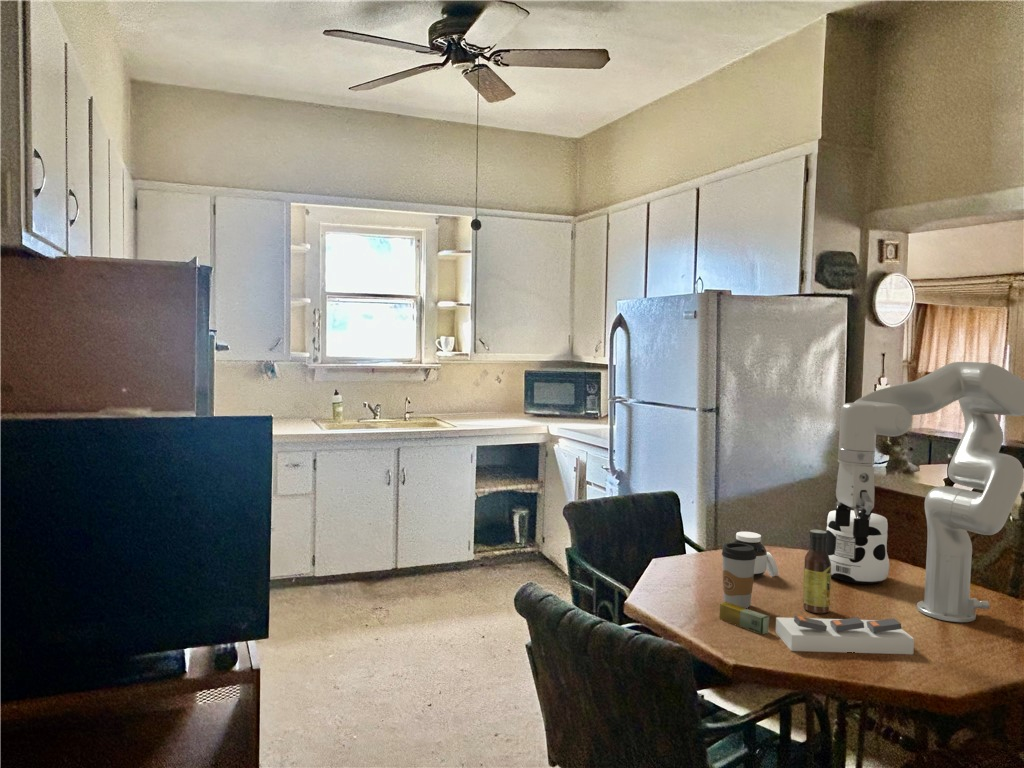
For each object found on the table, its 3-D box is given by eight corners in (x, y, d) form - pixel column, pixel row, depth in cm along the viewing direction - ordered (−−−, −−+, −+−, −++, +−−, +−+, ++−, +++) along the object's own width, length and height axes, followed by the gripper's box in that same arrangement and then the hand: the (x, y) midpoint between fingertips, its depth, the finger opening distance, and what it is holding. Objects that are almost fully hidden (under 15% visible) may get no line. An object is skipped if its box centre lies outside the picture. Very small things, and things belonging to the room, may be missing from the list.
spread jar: (724, 571, 210) (725, 531, 210) (752, 566, 216) (754, 527, 215) (756, 583, 200) (757, 542, 199) (784, 578, 205) (786, 537, 205)
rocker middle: (858, 622, 160) (857, 616, 160) (864, 627, 157) (863, 621, 157) (830, 626, 160) (830, 620, 160) (836, 631, 157) (835, 625, 157)
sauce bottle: (832, 616, 177) (835, 535, 176) (805, 613, 178) (808, 534, 177) (826, 606, 183) (829, 529, 182) (800, 604, 185) (803, 527, 183)
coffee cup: (712, 602, 185) (714, 544, 184) (737, 597, 189) (739, 540, 188) (736, 613, 178) (738, 553, 177) (761, 608, 181) (763, 549, 180)
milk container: (875, 570, 213) (878, 510, 212) (898, 590, 196) (901, 525, 195) (814, 567, 216) (816, 507, 215) (831, 586, 199) (834, 521, 198)
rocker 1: (820, 626, 160) (821, 620, 160) (825, 631, 157) (827, 625, 157) (793, 620, 160) (794, 614, 160) (798, 626, 157) (799, 620, 157)
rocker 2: (894, 623, 160) (893, 617, 160) (901, 628, 157) (900, 622, 157) (867, 627, 160) (866, 621, 160) (873, 632, 157) (873, 626, 157)
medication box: (769, 633, 166) (770, 616, 166) (762, 635, 164) (763, 618, 164) (725, 617, 176) (725, 600, 175) (718, 619, 174) (719, 602, 174)
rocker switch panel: (890, 635, 165) (890, 619, 165) (913, 654, 155) (914, 637, 155) (775, 632, 166) (776, 616, 166) (791, 650, 156) (791, 634, 156)
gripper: (890, 463, 156) (885, 542, 157) (856, 452, 174) (851, 523, 174) (855, 462, 157) (850, 540, 158) (824, 451, 174) (820, 521, 175)
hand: (851, 531), depth 166 cm, fingers open, 9 cm apart
